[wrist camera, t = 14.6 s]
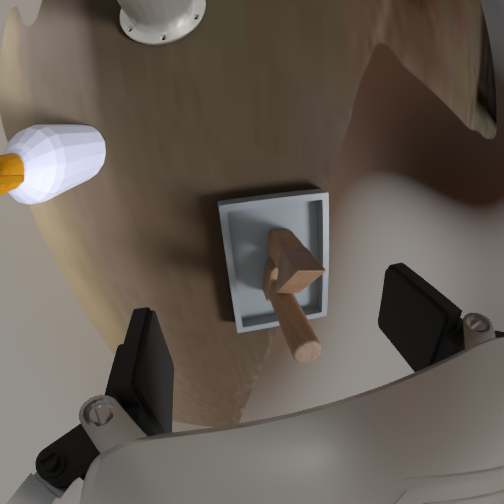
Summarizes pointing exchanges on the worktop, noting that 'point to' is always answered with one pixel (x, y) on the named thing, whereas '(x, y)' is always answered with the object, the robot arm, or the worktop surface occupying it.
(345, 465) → the robot arm
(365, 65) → the worktop surface
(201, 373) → the worktop surface
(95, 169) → the soap bottle
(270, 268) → the wooden mallet
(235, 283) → the tray
